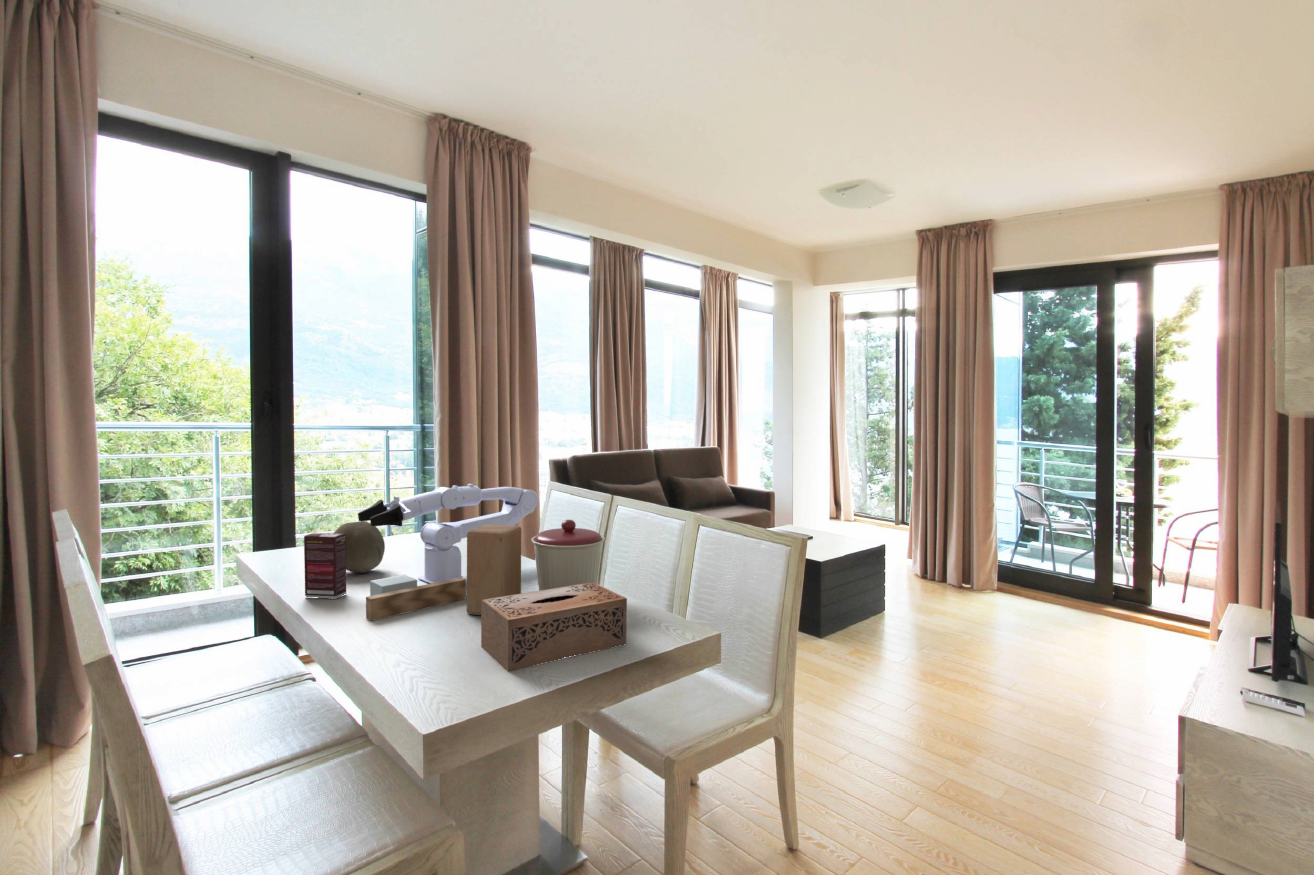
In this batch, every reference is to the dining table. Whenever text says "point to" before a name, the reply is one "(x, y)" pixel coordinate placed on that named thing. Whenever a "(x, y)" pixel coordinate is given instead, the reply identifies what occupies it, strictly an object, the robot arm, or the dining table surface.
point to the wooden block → (492, 564)
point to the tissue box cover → (552, 624)
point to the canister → (567, 556)
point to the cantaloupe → (362, 546)
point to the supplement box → (325, 565)
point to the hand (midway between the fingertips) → (364, 519)
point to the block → (391, 584)
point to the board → (415, 598)
